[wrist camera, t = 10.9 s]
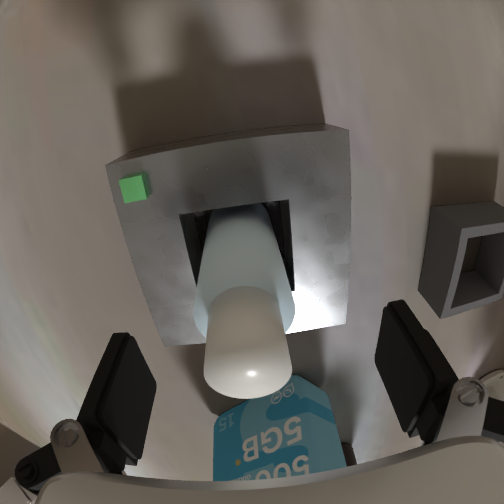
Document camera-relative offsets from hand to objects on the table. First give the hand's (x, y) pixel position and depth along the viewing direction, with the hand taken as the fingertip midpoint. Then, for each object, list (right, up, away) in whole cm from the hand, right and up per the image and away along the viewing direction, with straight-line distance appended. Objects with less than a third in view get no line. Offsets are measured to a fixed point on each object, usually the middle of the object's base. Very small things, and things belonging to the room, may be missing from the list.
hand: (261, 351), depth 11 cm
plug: (-1, +5, +9) cm, 11 cm away
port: (-1, +5, +9) cm, 11 cm away
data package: (+1, -12, +19) cm, 22 cm away
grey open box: (+17, +4, +11) cm, 21 cm away
